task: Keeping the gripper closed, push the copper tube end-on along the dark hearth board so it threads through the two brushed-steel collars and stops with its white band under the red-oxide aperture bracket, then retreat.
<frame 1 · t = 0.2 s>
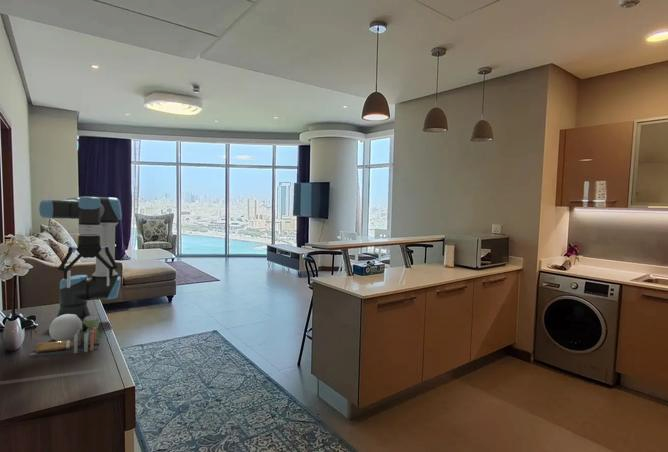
hand: (88, 286, 153), 28 cm above the table, fingers open, 13 cm apart
decorative ball: (65, 341, 166), on the table
collar b: (87, 350, 157), resting on hearth board
hearth board: (65, 352, 154), on the table
copper tube: (55, 351, 152), point 1 cm above the table, touching hearth board
collar a: (77, 351, 156), resting on hearth board
aperture bridge: (93, 349, 158), resting on hearth board
beverage can: (90, 343, 165), on the table
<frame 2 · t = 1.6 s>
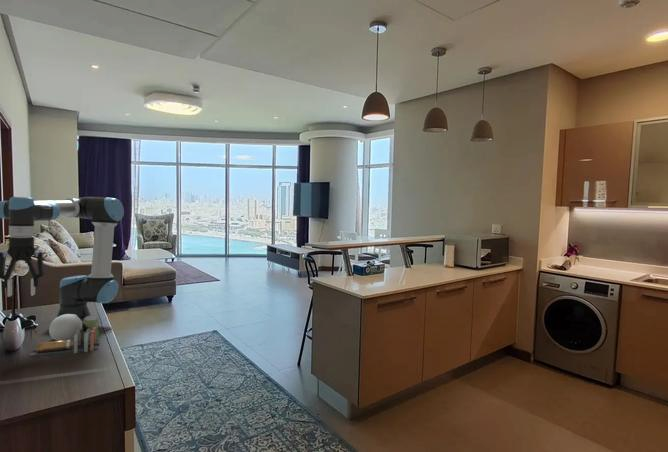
hand: (21, 295, 146), 25 cm above the table, fingers open, 6 cm apart
copper tube: (55, 351, 152), point 1 cm above the table, tilted 14°, touching hearth board
everything else where it was.
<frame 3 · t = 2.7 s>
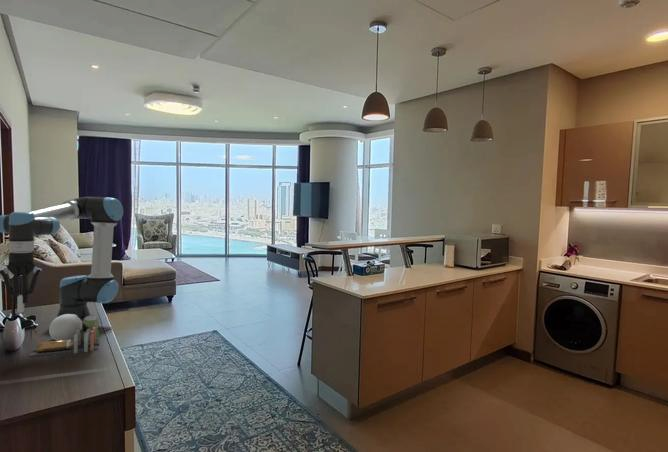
hand: (20, 311, 146), 19 cm above the table, fingers closed
copper tube: (55, 351, 152), point 1 cm above the table, tilted 22°, touching hearth board
everything else where it was.
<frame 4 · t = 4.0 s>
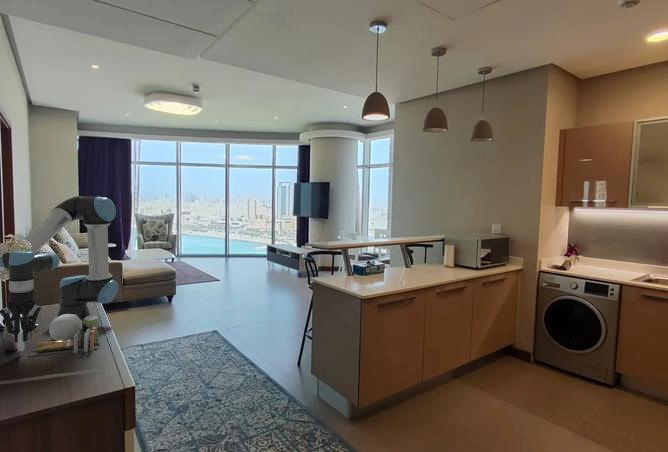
hand: (21, 349, 147), 3 cm above the table, fingers closed
nothing on the table moved.
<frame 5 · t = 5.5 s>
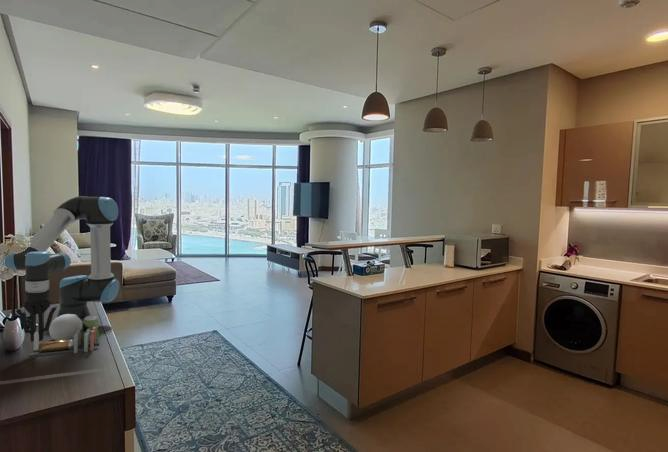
hand: (37, 348, 150), 3 cm above the table, fingers closed
copper tube: (57, 350, 153), point 1 cm above the table, tilted 21°, touching gripper
everything else where it was.
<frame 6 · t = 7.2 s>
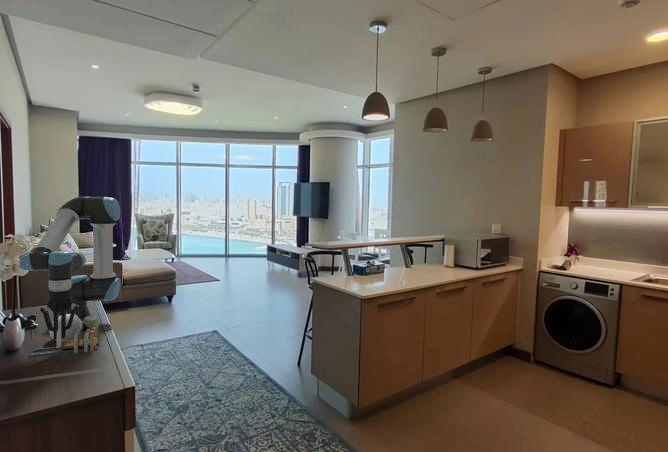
hand: (59, 346, 153), 3 cm above the table, fingers closed
copper tube: (79, 348, 156), point 1 cm above the table, tilted 21°, touching gripper, hearth board
everything else where it was.
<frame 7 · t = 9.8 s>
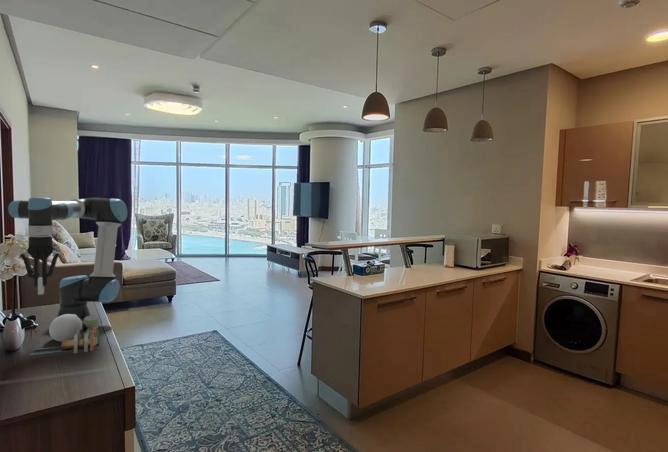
hand: (41, 293, 151), 25 cm above the table, fingers closed
copper tube: (79, 348, 156), point 1 cm above the table, tilted 25°, touching hearth board
everything else where it was.
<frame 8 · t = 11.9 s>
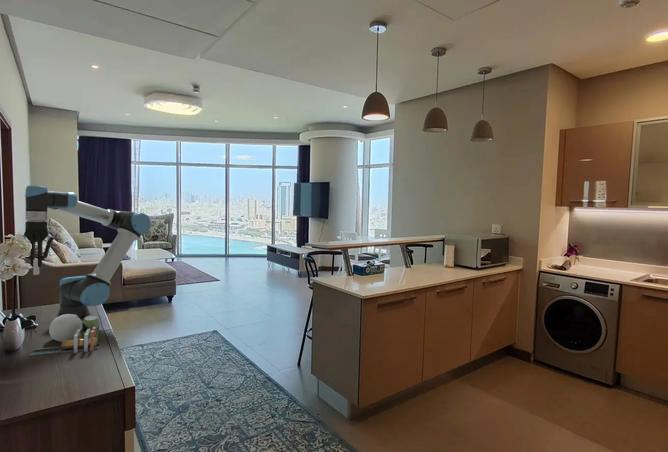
hand: (36, 274, 165), 29 cm above the table, fingers closed
nothing on the table moved.
at the end: copper tube 0.4 cm from the target spot on the table beside the aperture bridge, point 1.2 cm above the table; copper tube point 1.2 cm above the table; the gripper is holding nothing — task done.
